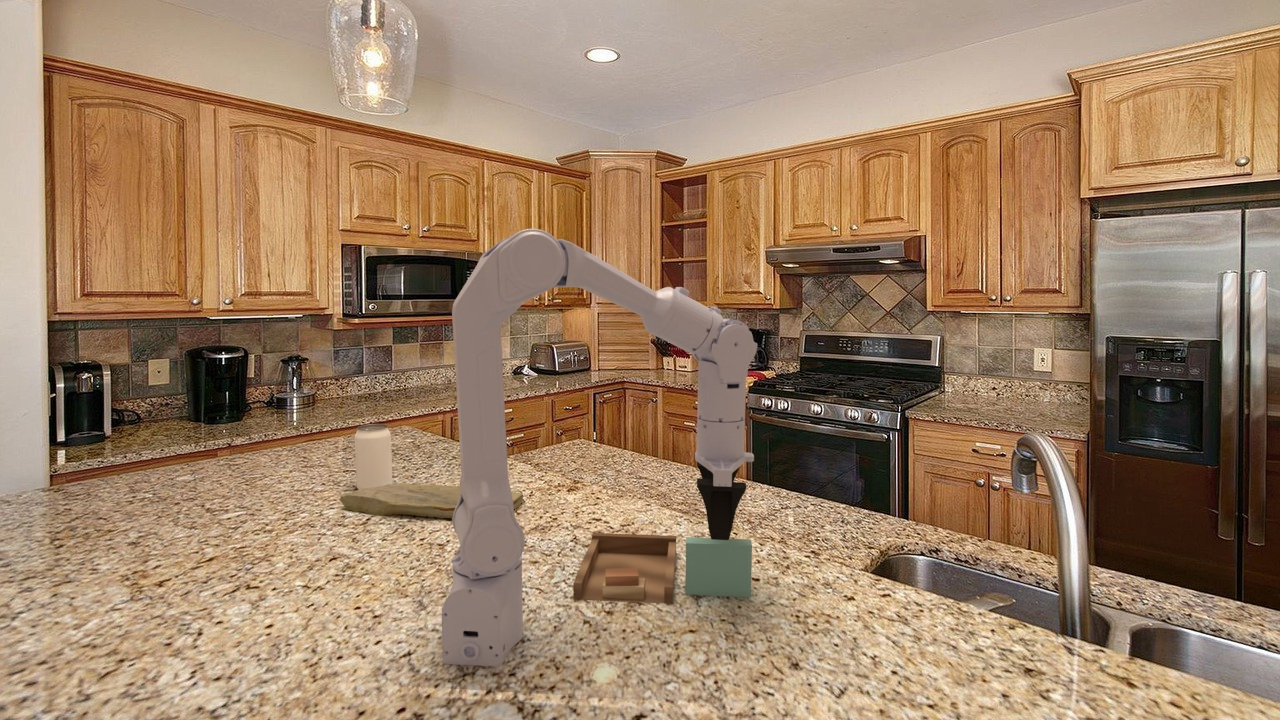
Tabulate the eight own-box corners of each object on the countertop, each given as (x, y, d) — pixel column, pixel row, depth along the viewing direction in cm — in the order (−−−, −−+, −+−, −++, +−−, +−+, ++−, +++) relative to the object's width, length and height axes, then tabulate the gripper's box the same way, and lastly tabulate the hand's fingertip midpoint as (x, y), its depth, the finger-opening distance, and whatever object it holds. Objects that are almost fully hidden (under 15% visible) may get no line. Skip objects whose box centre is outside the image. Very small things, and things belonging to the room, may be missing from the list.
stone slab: (376, 477, 120) (525, 481, 114) (377, 498, 121) (526, 504, 115) (332, 496, 108) (496, 502, 102) (334, 520, 109) (498, 527, 103)
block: (750, 600, 77) (752, 545, 76) (685, 598, 78) (685, 543, 77) (749, 593, 79) (750, 539, 78) (685, 590, 80) (686, 537, 79)
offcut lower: (643, 600, 76) (643, 587, 76) (602, 598, 77) (602, 585, 76) (645, 590, 79) (645, 578, 79) (605, 588, 79) (605, 576, 79)
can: (356, 484, 125) (353, 425, 124) (391, 480, 127) (389, 422, 126) (356, 494, 119) (354, 431, 118) (393, 489, 122) (391, 428, 120)
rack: (672, 609, 76) (672, 583, 75) (573, 605, 77) (573, 579, 76) (676, 558, 90) (676, 536, 90) (593, 555, 91) (593, 532, 91)
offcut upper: (638, 585, 77) (638, 576, 76) (605, 586, 76) (605, 576, 76) (637, 577, 79) (637, 568, 79) (605, 578, 79) (605, 568, 78)
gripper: (760, 431, 69) (757, 551, 70) (749, 408, 83) (746, 508, 84) (695, 429, 69) (693, 549, 71) (695, 407, 84) (693, 506, 85)
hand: (718, 527), depth 78 cm, fingers open, 7 cm apart
